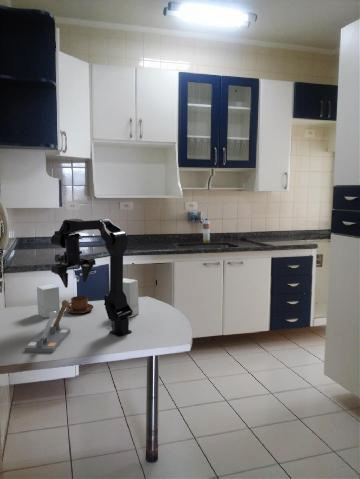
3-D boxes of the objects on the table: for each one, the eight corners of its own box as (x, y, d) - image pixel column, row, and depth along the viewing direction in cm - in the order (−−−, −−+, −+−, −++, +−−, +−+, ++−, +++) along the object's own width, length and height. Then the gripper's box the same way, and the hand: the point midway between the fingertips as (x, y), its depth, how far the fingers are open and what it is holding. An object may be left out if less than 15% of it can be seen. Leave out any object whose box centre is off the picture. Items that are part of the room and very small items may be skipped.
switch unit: (70, 332, 162) (70, 322, 162) (53, 352, 144) (52, 341, 143) (45, 331, 163) (44, 322, 162) (25, 351, 144) (24, 341, 144)
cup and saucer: (83, 316, 181) (83, 303, 180) (60, 313, 185) (60, 300, 184) (98, 308, 192) (97, 296, 191) (76, 306, 196) (75, 293, 195)
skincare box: (139, 314, 185) (139, 280, 183) (129, 318, 179) (129, 283, 177) (124, 310, 189) (124, 277, 187) (115, 314, 184) (114, 280, 181)
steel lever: (46, 342, 148) (59, 311, 146) (43, 345, 145) (57, 314, 143) (39, 338, 148) (52, 308, 146) (36, 341, 145) (49, 310, 143)
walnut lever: (58, 329, 161) (71, 300, 159) (56, 331, 158) (69, 303, 156) (52, 325, 161) (64, 297, 159) (49, 328, 158) (62, 299, 156)
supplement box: (60, 314, 183) (59, 286, 181) (44, 318, 179) (42, 289, 177) (53, 310, 189) (52, 283, 187) (37, 313, 184) (36, 286, 182)
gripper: (79, 242, 185) (81, 276, 188) (42, 250, 171) (45, 286, 174) (95, 245, 178) (97, 280, 181) (57, 254, 164) (60, 292, 167)
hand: (75, 284), depth 176 cm, fingers open, 9 cm apart
